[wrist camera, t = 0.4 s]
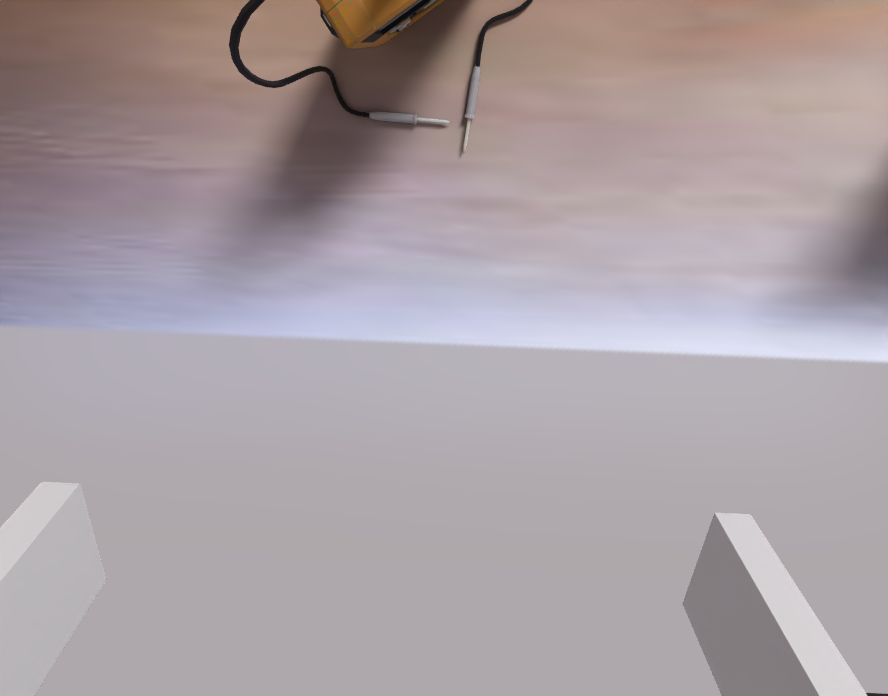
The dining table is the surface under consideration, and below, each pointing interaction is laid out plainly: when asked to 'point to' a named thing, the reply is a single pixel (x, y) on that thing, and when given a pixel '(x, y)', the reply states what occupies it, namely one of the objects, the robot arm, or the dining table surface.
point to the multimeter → (366, 42)
